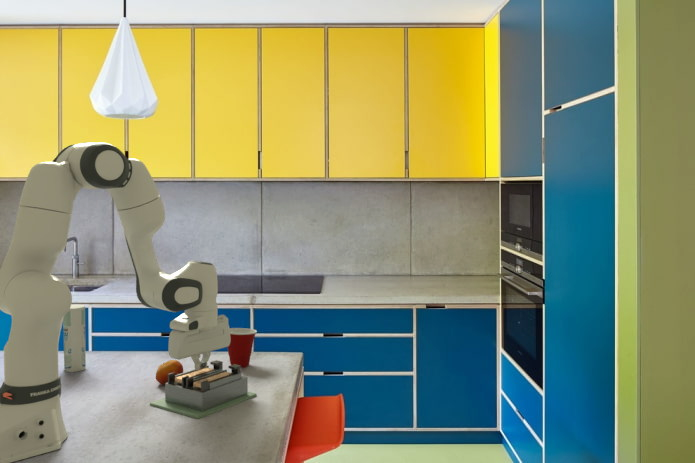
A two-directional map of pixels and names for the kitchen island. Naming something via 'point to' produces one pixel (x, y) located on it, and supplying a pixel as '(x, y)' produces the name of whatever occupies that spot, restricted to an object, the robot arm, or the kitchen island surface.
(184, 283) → the robot arm
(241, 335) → the plastic cup
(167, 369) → the fruit
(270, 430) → the kitchen island surface
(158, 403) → the board
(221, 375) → the strap near
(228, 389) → the grey toaster
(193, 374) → the strap far
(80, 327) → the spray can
